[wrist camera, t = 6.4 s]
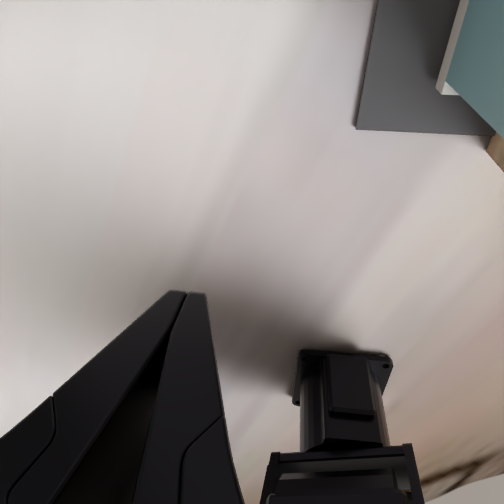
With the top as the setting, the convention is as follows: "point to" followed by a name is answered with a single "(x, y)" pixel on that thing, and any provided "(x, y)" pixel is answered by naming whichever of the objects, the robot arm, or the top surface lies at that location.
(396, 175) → the top surface
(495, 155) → the tunnel
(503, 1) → the sled
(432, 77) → the pad
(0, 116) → the top surface
